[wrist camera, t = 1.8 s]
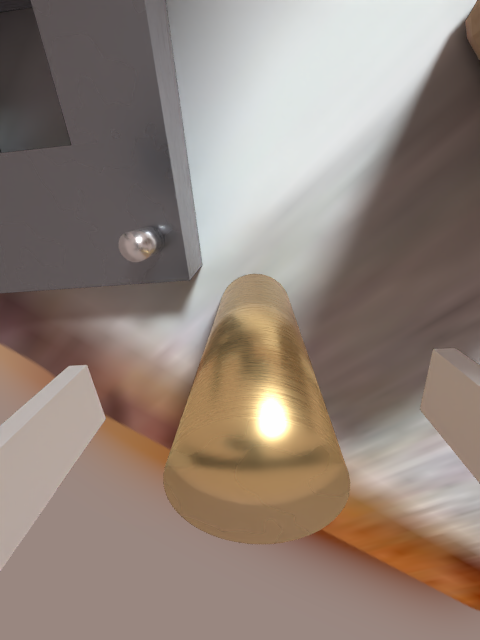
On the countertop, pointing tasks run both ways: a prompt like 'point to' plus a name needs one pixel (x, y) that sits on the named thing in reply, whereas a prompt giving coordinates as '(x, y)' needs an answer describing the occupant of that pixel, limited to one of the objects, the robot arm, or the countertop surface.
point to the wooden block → (474, 28)
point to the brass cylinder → (256, 428)
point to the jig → (102, 157)
